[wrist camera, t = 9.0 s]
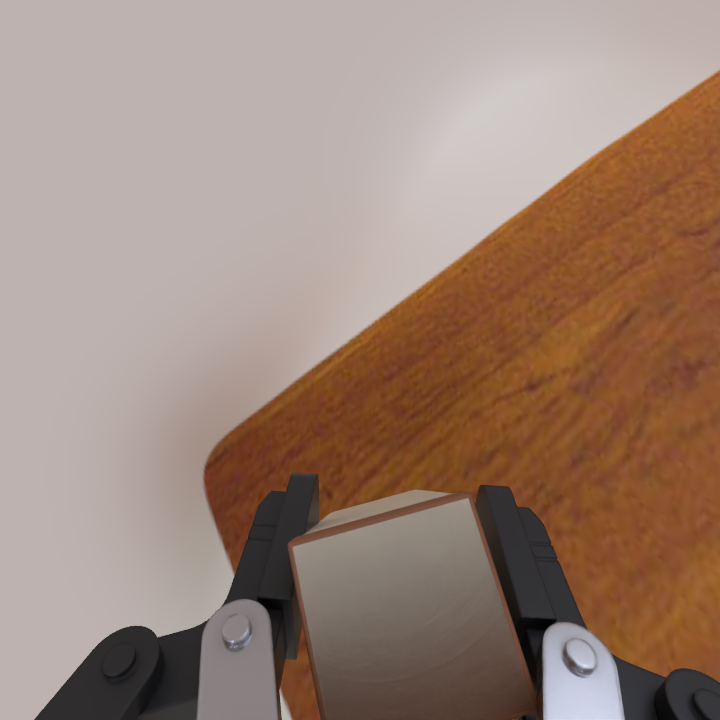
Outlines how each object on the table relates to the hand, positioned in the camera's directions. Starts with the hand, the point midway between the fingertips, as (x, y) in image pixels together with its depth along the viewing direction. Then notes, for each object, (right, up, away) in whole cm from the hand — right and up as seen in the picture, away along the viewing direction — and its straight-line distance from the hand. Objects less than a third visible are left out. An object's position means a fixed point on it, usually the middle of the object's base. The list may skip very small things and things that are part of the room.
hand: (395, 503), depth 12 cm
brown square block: (0, -3, +4) cm, 5 cm away
